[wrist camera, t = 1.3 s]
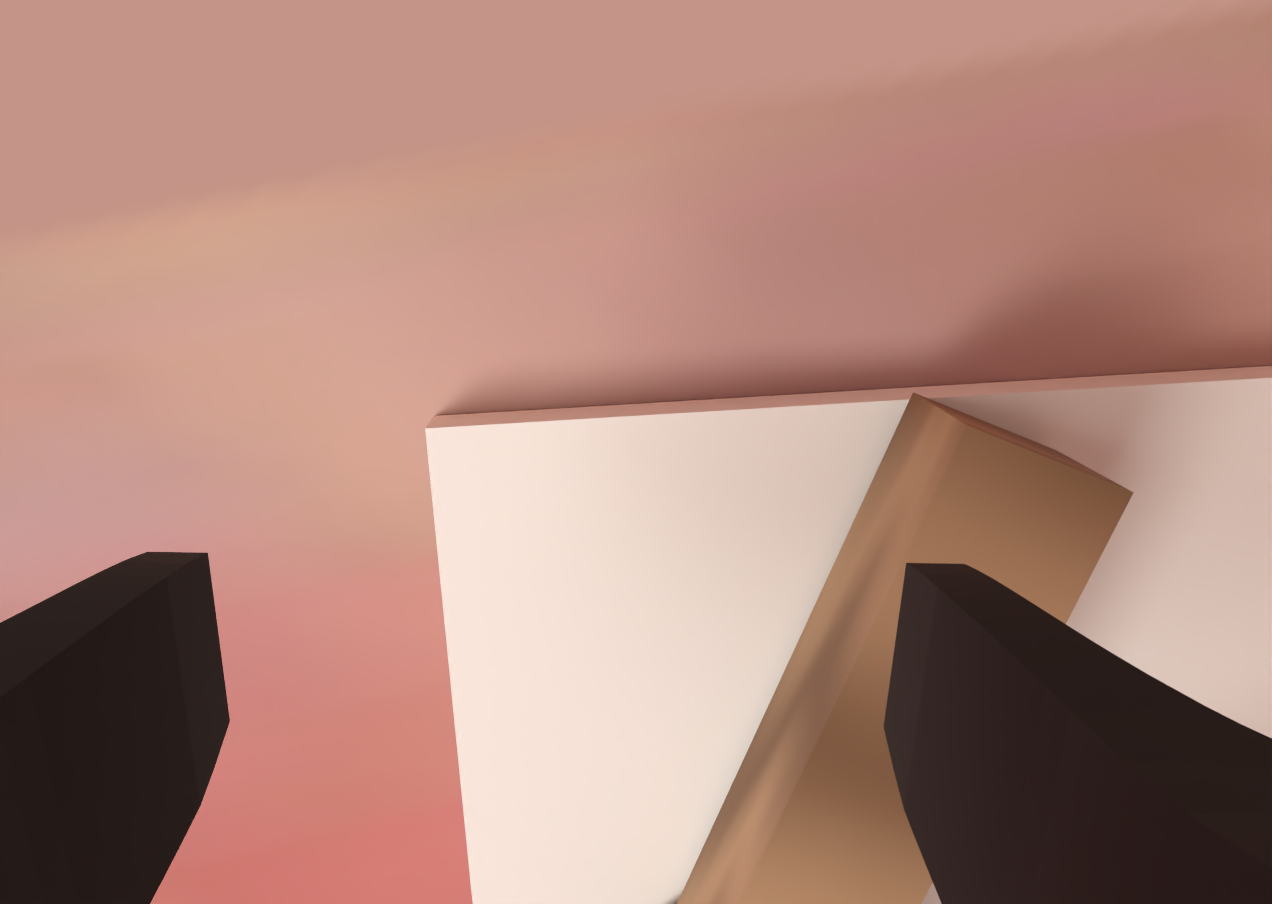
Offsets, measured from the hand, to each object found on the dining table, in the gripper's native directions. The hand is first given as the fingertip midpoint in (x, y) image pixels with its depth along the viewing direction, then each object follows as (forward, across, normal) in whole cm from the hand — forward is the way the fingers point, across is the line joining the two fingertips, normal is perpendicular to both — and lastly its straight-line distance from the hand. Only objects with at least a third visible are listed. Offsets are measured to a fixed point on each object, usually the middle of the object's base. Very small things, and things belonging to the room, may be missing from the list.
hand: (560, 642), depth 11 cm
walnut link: (+8, -5, +8) cm, 12 cm away
